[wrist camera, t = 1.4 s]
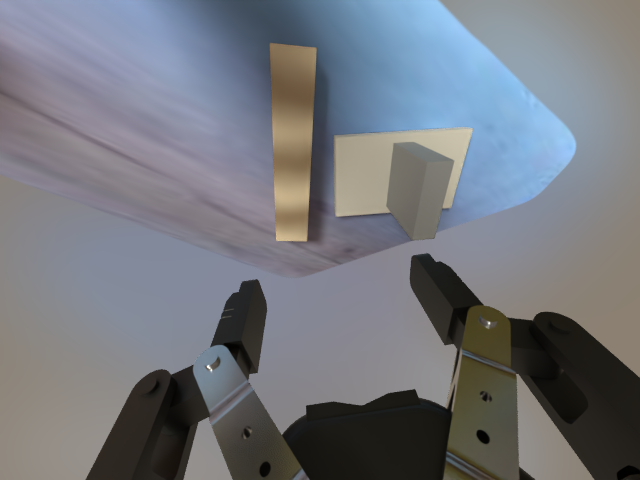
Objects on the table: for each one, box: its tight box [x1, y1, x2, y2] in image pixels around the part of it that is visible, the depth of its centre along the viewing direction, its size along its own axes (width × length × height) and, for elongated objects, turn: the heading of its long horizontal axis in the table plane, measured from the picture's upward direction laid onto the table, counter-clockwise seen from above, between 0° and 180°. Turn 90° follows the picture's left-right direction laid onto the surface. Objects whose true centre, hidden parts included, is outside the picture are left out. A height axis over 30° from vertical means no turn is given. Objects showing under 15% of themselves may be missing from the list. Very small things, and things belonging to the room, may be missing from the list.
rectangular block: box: [270, 43, 317, 241], centre depth 27 cm, size 20×4×4 cm, turn 176°
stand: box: [334, 127, 473, 240], centre depth 27 cm, size 16×10×10 cm, turn 93°
